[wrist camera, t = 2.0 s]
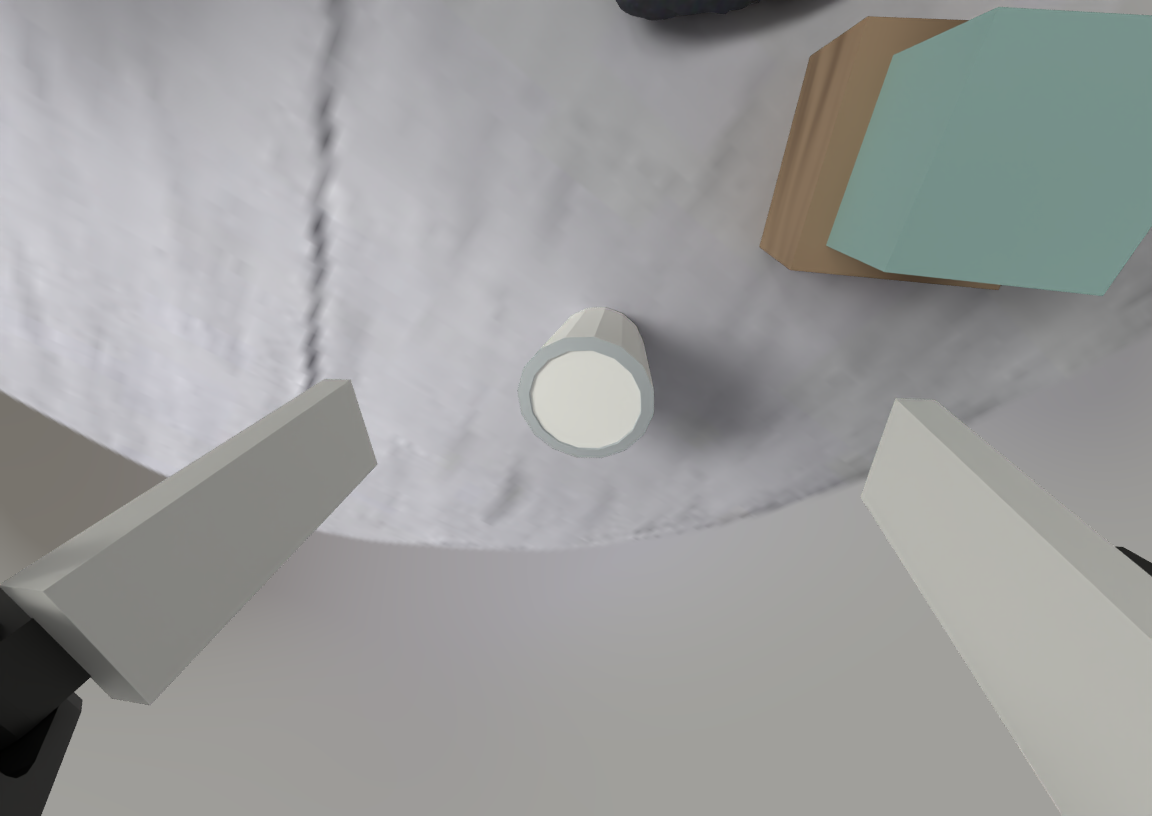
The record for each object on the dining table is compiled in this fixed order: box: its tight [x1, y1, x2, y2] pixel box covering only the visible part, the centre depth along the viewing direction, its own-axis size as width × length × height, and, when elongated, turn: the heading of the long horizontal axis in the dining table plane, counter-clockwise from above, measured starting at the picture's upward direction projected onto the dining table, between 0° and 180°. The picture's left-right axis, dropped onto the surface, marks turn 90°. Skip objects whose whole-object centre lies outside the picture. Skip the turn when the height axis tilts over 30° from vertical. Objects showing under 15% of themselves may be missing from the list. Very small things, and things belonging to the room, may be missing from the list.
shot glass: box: [517, 307, 654, 458], centre depth 24 cm, size 7×7×7 cm
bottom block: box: [760, 16, 1001, 290], centre depth 18 cm, size 8×8×6 cm
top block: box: [826, 7, 1152, 296], centre depth 13 cm, size 6×6×5 cm
